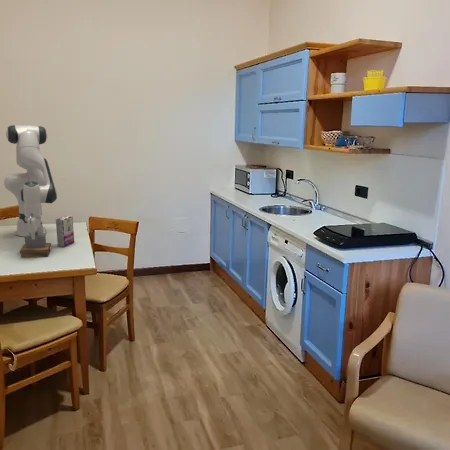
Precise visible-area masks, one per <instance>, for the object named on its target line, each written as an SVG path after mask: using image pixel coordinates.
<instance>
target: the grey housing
mask: <svg viewBox="0 0 450 450" xmlns="http://www.w3.org/2000/svg"><path fill="white" fill-rule="evenodd" d="M46 243H47V239H46V234H43V235H35V239H34V240H32V238H31V235H26V236H24V244H25V248H38V247H45V246H46Z"/></svg>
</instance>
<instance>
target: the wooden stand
mask: <svg viewBox="0 0 450 450" xmlns="http://www.w3.org/2000/svg"><path fill="white" fill-rule="evenodd" d="M51 247H52V242H46V246H45V247H38V248H25V243H24V244H23V245H22V247H21V248H20V250H19V254H21V258H23V259H24V258H41V257H43V258H44V257H45V258H46V257H47V258H48V256H49V252H51Z"/></svg>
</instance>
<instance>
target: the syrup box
mask: <svg viewBox="0 0 450 450" xmlns="http://www.w3.org/2000/svg"><path fill="white" fill-rule="evenodd" d="M43 227H44V224H43V221H42V222H40V225H39V227H38V235H44V234H43ZM29 235H31V233H29Z"/></svg>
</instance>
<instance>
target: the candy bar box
mask: <svg viewBox="0 0 450 450" xmlns="http://www.w3.org/2000/svg"><path fill="white" fill-rule="evenodd" d="M55 226H56V229H55V230H56V239H57V247H60V248H65V247H66V248H67V246H70V245H72V244H74V243H75V235H74V234H75V232H74V218H73V216H72V215H63V216H62V217H59V218H57V219H55Z"/></svg>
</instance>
